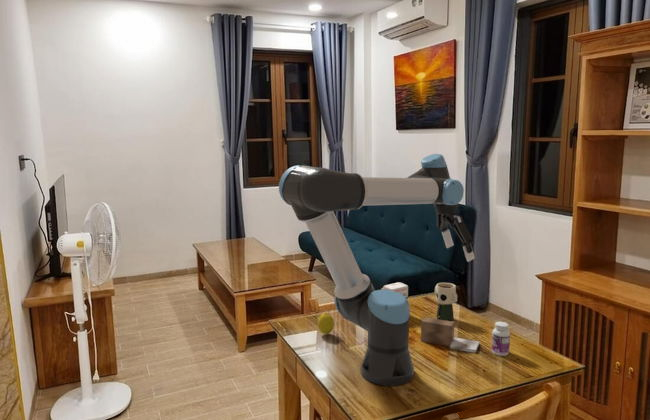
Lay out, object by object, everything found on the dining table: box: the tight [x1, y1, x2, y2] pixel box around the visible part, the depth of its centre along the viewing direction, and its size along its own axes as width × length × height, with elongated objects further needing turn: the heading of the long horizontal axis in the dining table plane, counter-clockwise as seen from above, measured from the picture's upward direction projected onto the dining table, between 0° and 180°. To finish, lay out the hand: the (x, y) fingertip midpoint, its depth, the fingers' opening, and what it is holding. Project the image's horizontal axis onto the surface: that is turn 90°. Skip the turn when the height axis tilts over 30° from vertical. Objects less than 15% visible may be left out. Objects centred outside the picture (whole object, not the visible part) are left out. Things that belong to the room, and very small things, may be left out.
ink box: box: [382, 281, 409, 301], centre depth 189 cm, size 8×5×12 cm, turn 123°
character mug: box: [434, 282, 458, 321], centre depth 185 cm, size 11×7×13 cm, turn 32°
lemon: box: [317, 312, 335, 336], centre depth 171 cm, size 6×6×8 cm
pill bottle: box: [491, 321, 511, 357], centre depth 157 cm, size 5×5×10 cm
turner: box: [420, 316, 480, 354], centre depth 164 cm, size 18×7×7 cm, turn 64°
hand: (460, 252), depth 172 cm, fingers open, 13 cm apart
